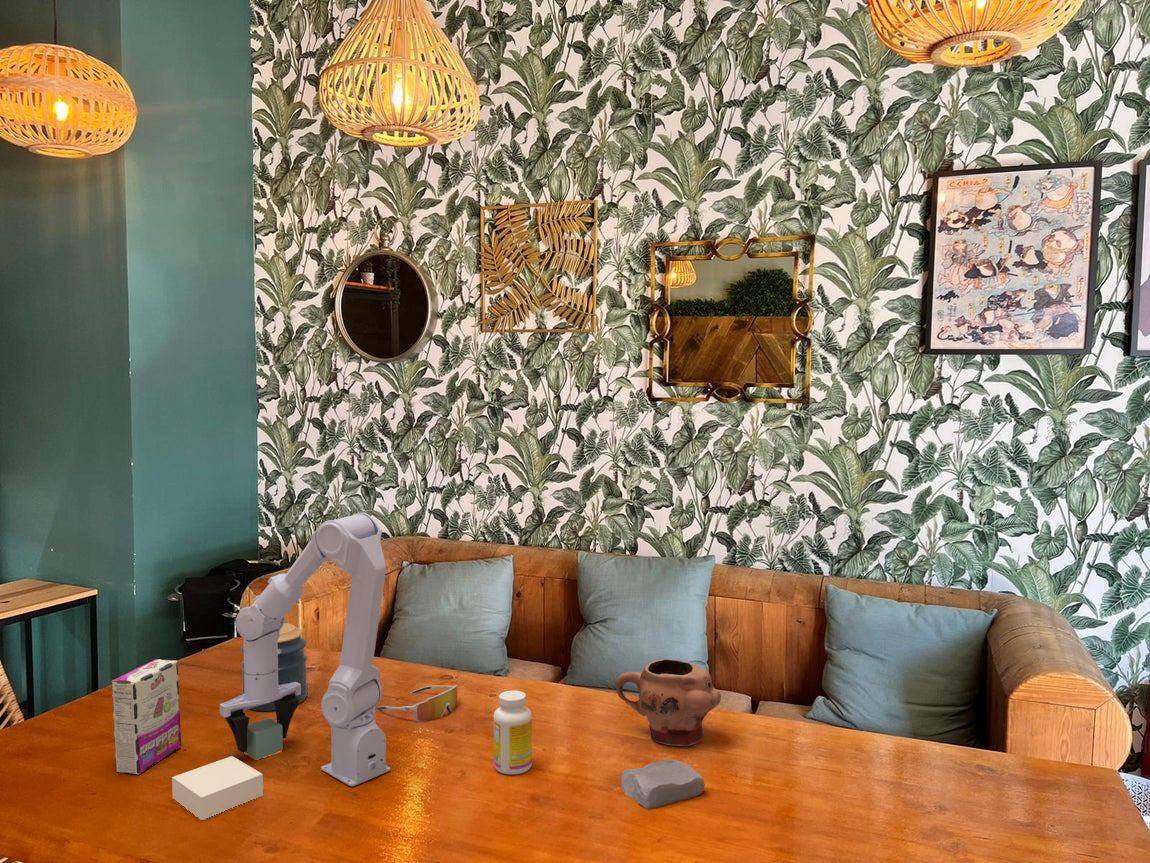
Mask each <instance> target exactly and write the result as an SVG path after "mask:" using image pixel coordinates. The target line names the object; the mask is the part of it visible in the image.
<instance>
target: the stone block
mask: <svg viewBox="0 0 1150 863" xmlns="http://www.w3.org/2000/svg"><path fill="white" fill-rule="evenodd" d="M620 779H621V790H622V791H623V792H624V794H625V795H626V796H628V797H629V798H630V799H632V800H634V801H635V802H636V803H637V804H638V805H640V806H642V807H643V808H644V809H645V810H649V809H650V810H651V809H654V808H659V807H662V806H665V805H670V804H673V803H677V802H681V801H684V800H689V799H693V798H696V797H698V796H699V795H701V794H703V792H704V790H705V786H706V785H705V780H704V778H703V776H702V775H701V774H699V772H698V771H696V770H694V768H693V767H691V766H690V765H689V764H687V763H686V762H683V761H680V760H674V759H664V760H660V761H654V762H651V763H648V764H647V765H645V766H643V767H636V768H629V769H624V770H622V774H621V778H620Z"/></svg>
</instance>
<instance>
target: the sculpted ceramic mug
mask: <svg viewBox="0 0 1150 863" xmlns="http://www.w3.org/2000/svg"><path fill="white" fill-rule="evenodd" d="M614 683H615V685H614V686H615V687H614V688H615V691H616V693H617V696H618V697H619V698H620V700H622V701H624V702H625V703H626V704H627V705H628V706H629V707H630V708H632V709H633V710H634V711H636V712H637V713H638V714H639V715H641V716H643V717H645V716H646V719H647V721H648V723H649V731H650V737H651V739H652V740H653V741H654V742H655V743H656V742H657V743H661V744H663V745H668V746H678V747H687V746H693V745H696V744H697V743H698V742H700V741H701V739H702V737H703V721H704V718H706V716H707V715H708V713H709V712H711V711H712V710H713V709H715V708H717V706H719V705H720V703H721V699H722V695H721V692H720V691H719V690H718V689H717V688H715V687H714V685H713V681H712V676H711V674H710V673H709V671H707V670H706V669H703V668H702V667H700V666H699V665H697V664H695V663H693V662H687V661H682V660H675V659H663V658H662V659H657V660H654V661H650V662H648V663H646V665H645V666H644V668H643V671H626V672H623V673H621V674H620V675H619V676H618V677H617V679H616V681H615V682H614ZM626 683H634V684H635V685H636V686H637V688H638V700H635V701H634V700H630V699H628V698H627V697H626V696H625V695H624V693H623V688H624V685H625V684H626Z"/></svg>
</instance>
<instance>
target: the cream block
mask: <svg viewBox="0 0 1150 863" xmlns="http://www.w3.org/2000/svg"><path fill="white" fill-rule="evenodd" d="M263 780H264V774H263V773H262V772H260V771H258V770H256V769H255V768H254V767H251V766H250V765H249V764H246V763H245V762H243V761H241V760H239V759H238V758H236V757H234V756H233V755H231V756H227V757H226V758H222V759H219V760H217V761H214V762H210V763H208V764H205V765H202V766H200V767H197V768H193V769H191V770H189V771H186V772H183V773H179V774H177V775H175V776H172V777H171V787H172V788H171V790H172V791H171V792H172V800H173V799H175V800H176V801H177V802H179V803H180V804H181V805H182V806H184V807H185V808H186V809H187V810H186V809H185V808H184V807H183V808H184V809H185V810H186V811H188V810H189V811H190V812H191V813H190V812H189V811H188V812H189V813H190V814H192V813H193V814H194V816H195V818H197V817H198V818H197V819H198V820H200V821H201V820H203V821H206V820H207V819H206V818H208V819H209V817H210V818H212V817H211V816H213V817H215V816H217V815H216V814H218V815H220V814H222V813H221V812H223V813H224V811H225V810H228V809H230V808H232V809H234V808H233V807H235V806H237V807H239V806H238V805H240V804H242V805H244V804H243V803H245V804H247V803H249V802H248V801H250V800H252V801H254V800H253V799H255V800H257V799H259V798H258V797H260V798H262V797H263V796H264V781H263ZM261 796H262V797H261ZM256 798H257V799H256ZM176 801H175V802H176ZM177 802H176V803H177ZM246 802H247V803H246ZM250 802H251V801H250ZM180 804H179V805H180ZM181 805H180V806H181ZM182 806H181V807H182ZM240 806H241V805H240ZM235 808H236V807H235ZM230 810H231V809H230ZM228 811H229V810H228ZM225 812H226V811H225ZM219 813H220V814H219ZM193 814H192V815H193ZM214 815H215V816H214Z"/></svg>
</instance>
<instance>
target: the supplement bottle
mask: <svg viewBox="0 0 1150 863" xmlns="http://www.w3.org/2000/svg"><path fill="white" fill-rule="evenodd" d="M498 703H499V705H500V706H499V707H497V708H496V709H495V711H494V712H493V765H494V768H495V770H496V771H497V772H499V773H500V774H505V775H512V776H513V775H520V774H523V773H525V772H528V771H529V770H530V769H531V767H532V765H533V729H532V727H533V725H532V724H533V718H532V716H533V715H532V712H531V709H530V708H529V707H527V706H526V703H527V695H526V693H525V692H523V691H520V690H506V691H503V692H501V693H500V694H499V695H498Z"/></svg>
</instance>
